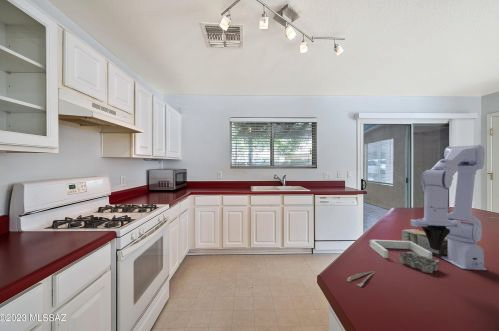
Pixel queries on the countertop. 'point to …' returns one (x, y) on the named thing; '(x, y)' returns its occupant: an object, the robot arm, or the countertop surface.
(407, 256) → the egg carton
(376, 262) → the countertop surface
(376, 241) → the white l-shaped bracket
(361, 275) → the tweezers
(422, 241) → the coffee box
